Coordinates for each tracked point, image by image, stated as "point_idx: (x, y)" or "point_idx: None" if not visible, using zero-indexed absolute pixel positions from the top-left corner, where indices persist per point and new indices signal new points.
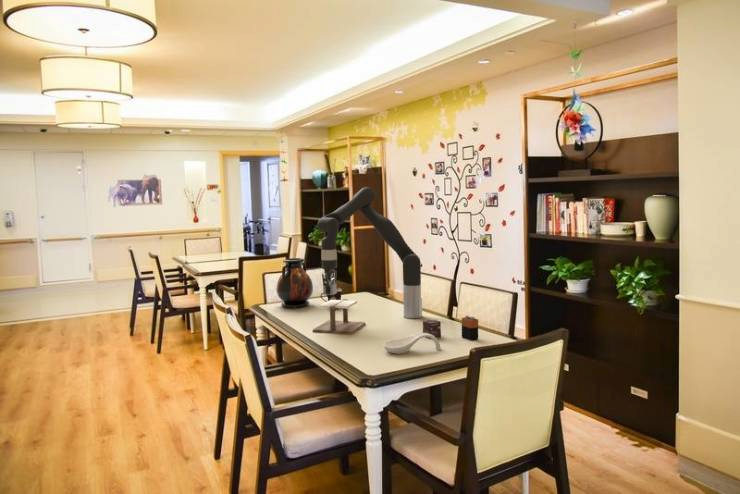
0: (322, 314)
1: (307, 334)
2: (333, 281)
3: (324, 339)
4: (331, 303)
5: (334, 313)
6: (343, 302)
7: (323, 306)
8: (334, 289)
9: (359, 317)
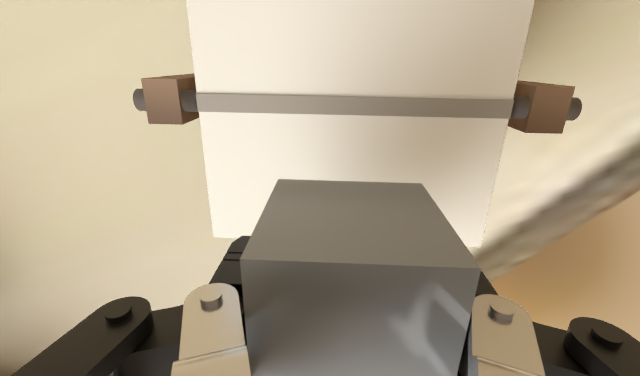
0: (78, 282)
1: (503, 210)
2: (244, 344)
3: (621, 80)
4: (386, 173)
5: (518, 81)
6: (313, 64)
7: (483, 212)
8: (365, 210)
9: (41, 55)
